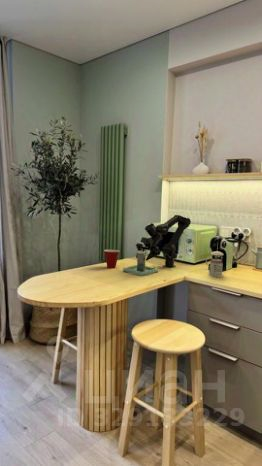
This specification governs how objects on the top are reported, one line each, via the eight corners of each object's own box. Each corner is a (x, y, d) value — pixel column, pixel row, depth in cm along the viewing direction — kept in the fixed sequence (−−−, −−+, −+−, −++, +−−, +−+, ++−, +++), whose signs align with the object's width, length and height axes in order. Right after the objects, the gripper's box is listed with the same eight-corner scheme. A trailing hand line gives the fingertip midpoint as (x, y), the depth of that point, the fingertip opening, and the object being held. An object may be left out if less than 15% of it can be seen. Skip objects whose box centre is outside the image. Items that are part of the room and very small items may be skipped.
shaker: (143, 269, 211) (144, 250, 209) (146, 271, 206) (146, 251, 204) (135, 269, 210) (136, 250, 208) (137, 271, 204) (138, 251, 203)
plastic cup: (120, 266, 222) (120, 249, 221) (118, 269, 211) (118, 251, 210) (104, 265, 223) (105, 248, 222) (101, 268, 212) (102, 250, 211)
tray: (139, 267, 219) (139, 264, 219) (158, 272, 208) (158, 268, 208) (123, 271, 207) (123, 268, 207) (142, 276, 197) (142, 272, 196)
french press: (225, 276, 202) (228, 237, 199) (207, 276, 202) (209, 237, 199) (220, 273, 212) (223, 235, 209) (203, 272, 212) (205, 235, 209)
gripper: (138, 231, 215) (125, 249, 209) (158, 234, 201) (145, 253, 195) (146, 241, 221) (133, 259, 215) (166, 245, 208) (153, 264, 202)
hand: (141, 259), depth 207 cm, fingers open, 9 cm apart
